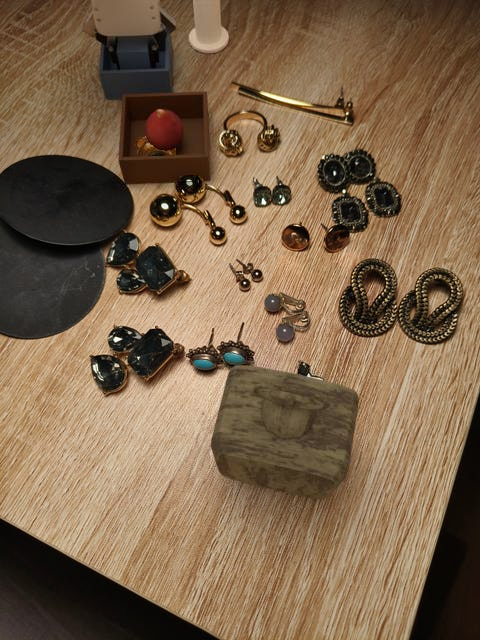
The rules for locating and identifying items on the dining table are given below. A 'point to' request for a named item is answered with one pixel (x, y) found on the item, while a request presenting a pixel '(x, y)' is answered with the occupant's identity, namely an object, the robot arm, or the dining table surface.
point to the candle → (208, 27)
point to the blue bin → (137, 74)
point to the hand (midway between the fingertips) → (137, 64)
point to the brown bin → (188, 153)
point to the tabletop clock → (284, 431)
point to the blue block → (133, 52)
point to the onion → (164, 130)
